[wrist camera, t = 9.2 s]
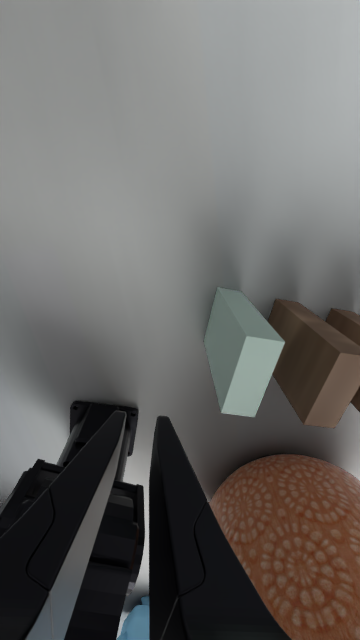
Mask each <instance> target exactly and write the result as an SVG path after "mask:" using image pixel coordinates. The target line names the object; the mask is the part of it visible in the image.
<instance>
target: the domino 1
mask: <svg viewBox="0 0 360 640" xmlns="http://www.w3.org/2000/svg"><path fill="white" fill-rule="evenodd" d="M284 344H285V341H284V340H283V339H282V338H281V337H280V336H279V334H278V333H277V332H276V331H275V330H274V329H273V327H272V326H271V325H270V324H269V323H268V322H267V321H266V319H265V318H264V317H263V316H262V315H261V314H260V312H259V311H258V310H257V309H256V308H255V307H254V306H253V304H252V303H251V302H250V301H249V300H248V299H247V297H246V296H245V295H244V294H243V293H242V292H241V291H236V290H231V289H225V288H219V287H217V291H216V295H215V298H214V302H213V306H212V310H211V314H210V318H209V322H208V326H207V330H206V334H205V338H204V345H205V349H206V353H207V357H208V361H209V365H210V369H211V374H212V378H213V382H214V386H215V390H216V394H217V398H218V403H219V407H220V411H221V413H224V414H232V415H240V416H248V417H255V415H256V413H257V410H258V408H259V405H260V403H261V400H262V398H263V395H264V393H265V391H266V388H267V386H268V383H269V381H270V378H271V376H272V373H273V371H274V368H275V366H276V363H277V361H278V359H279V356H280V354H281V351H282V349H283V346H284Z"/></svg>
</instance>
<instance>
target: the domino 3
mask: <svg viewBox="0 0 360 640" xmlns="http://www.w3.org/2000/svg"><path fill="white" fill-rule="evenodd" d="M326 323H328V324H329V325H331V326H332V327H333V328H335V329H336V330H338V331H339V332H340V333H342V334H343V335H345V336H346V337H347V338H349V339H350V340H352V341H353V342H354V343H356V344H357V345H359V346H360V315H358V314H356V313H354V312H351V311H345V310H339V309H333V308H332V309H331V311H330V313H329V315H328V317H327V320H326ZM350 402H351V403H352V404H353V405H354V407H355V408H356V409H357V410H358V411H359V412H360V386H359V388H358V390H357V391H356V393H355V395H354V396H353V398H352V400H351V401H350Z"/></svg>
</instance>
